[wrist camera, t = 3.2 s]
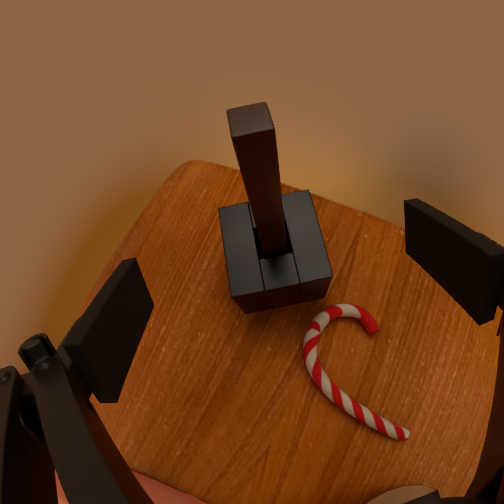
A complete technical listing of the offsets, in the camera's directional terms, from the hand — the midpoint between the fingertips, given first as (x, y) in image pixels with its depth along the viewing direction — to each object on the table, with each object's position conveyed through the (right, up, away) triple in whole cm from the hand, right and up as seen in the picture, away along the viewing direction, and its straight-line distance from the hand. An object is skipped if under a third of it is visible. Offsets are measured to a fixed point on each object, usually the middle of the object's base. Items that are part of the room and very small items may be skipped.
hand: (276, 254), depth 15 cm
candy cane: (+9, -11, +12) cm, 19 cm away
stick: (+1, -1, +16) cm, 17 cm away
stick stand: (+1, -1, +16) cm, 17 cm away
